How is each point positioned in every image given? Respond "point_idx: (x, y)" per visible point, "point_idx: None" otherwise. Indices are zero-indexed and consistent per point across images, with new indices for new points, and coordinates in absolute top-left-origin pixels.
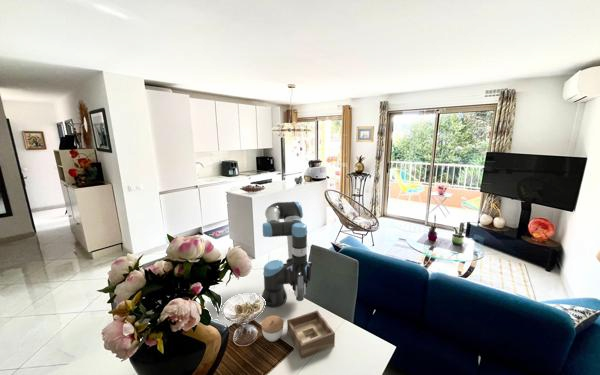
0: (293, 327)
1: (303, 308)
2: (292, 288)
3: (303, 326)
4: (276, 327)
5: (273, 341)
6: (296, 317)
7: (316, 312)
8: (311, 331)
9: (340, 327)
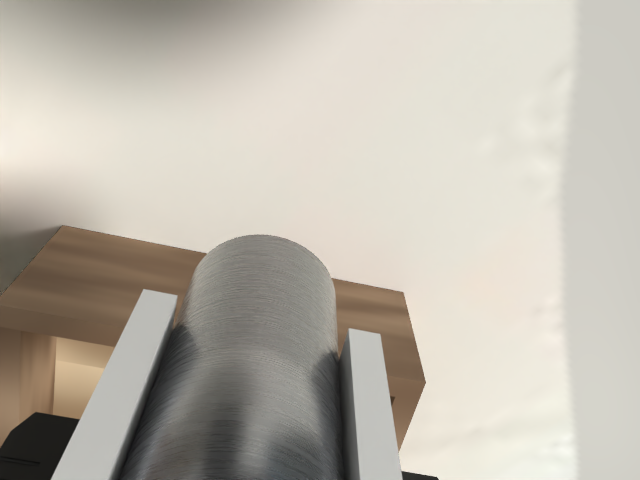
0: (17, 421)
1: (438, 31)
2: (2, 445)
3: None
4: None
5: None
6: None
7: (393, 393)
8: None
9: (508, 443)
